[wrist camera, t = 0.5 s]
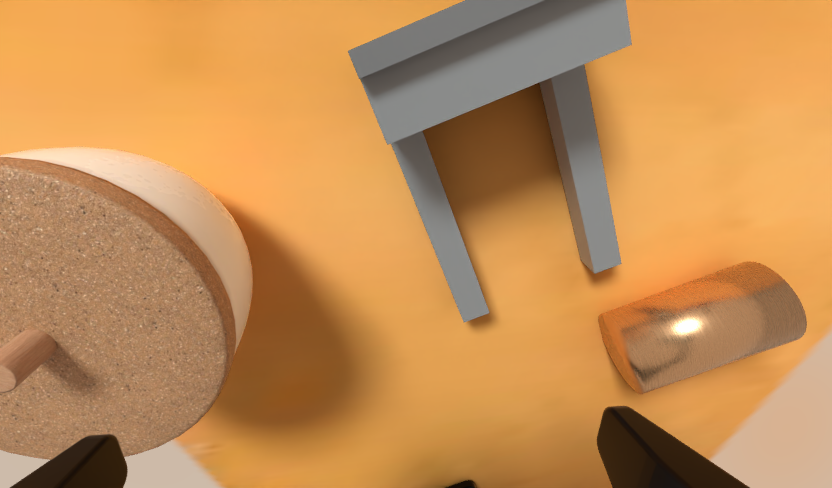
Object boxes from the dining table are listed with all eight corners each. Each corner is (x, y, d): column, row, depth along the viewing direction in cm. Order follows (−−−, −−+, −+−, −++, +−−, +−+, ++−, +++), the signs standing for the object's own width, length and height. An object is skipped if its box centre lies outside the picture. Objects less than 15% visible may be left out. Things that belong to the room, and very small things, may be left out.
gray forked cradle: (606, 251, 22) (676, 308, 17) (458, 306, 22) (483, 378, 17) (549, -29, 16) (628, -70, 11) (356, 54, 17) (347, 51, 12)
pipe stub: (738, 246, 22) (816, 301, 18) (728, 299, 25) (795, 357, 21) (595, 298, 22) (644, 362, 19) (601, 345, 25) (645, 409, 22)
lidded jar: (64, 72, 16) (-280, 82, 8) (315, 195, 19) (266, 301, 11) (14, 282, 20) (-266, 452, 11) (234, 360, 22) (147, 541, 14)
